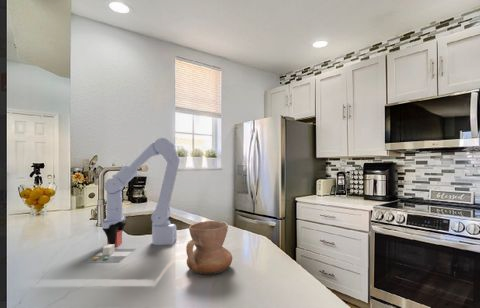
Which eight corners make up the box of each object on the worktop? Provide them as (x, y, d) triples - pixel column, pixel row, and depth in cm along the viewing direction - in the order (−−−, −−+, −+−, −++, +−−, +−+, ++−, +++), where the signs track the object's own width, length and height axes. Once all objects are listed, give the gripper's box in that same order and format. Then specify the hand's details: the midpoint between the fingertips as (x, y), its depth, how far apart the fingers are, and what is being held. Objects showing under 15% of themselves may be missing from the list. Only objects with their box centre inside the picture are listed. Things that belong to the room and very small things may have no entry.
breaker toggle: (114, 251, 99) (114, 244, 99) (109, 255, 95) (109, 247, 95) (108, 251, 99) (108, 244, 99) (102, 255, 95) (102, 247, 95)
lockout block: (122, 244, 110) (121, 229, 110) (117, 247, 106) (117, 232, 106) (112, 244, 110) (112, 230, 110) (107, 247, 106) (107, 232, 106)
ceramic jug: (211, 256, 97) (210, 217, 97) (243, 264, 88) (242, 221, 89) (171, 274, 83) (169, 228, 83) (205, 287, 74) (203, 235, 74)
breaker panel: (136, 252, 103) (136, 247, 103) (118, 267, 89) (118, 260, 89) (105, 252, 103) (105, 247, 103) (82, 267, 89) (82, 260, 89)
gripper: (113, 205, 116) (114, 237, 115) (94, 211, 101) (94, 248, 101) (129, 205, 115) (130, 236, 115) (112, 211, 101) (113, 247, 101)
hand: (114, 242), depth 108 cm, fingers closed on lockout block, 4 cm apart
